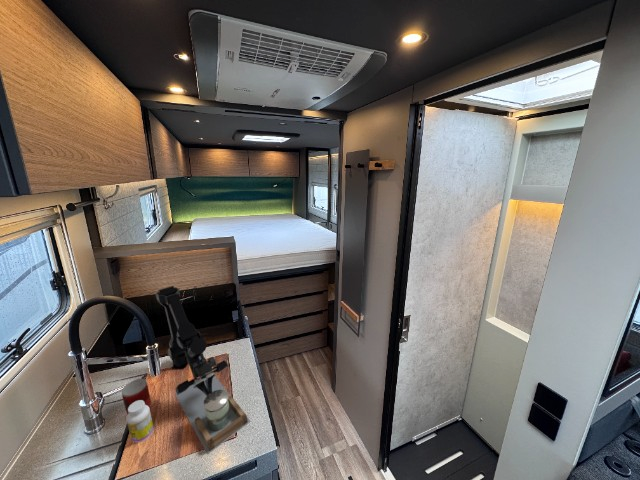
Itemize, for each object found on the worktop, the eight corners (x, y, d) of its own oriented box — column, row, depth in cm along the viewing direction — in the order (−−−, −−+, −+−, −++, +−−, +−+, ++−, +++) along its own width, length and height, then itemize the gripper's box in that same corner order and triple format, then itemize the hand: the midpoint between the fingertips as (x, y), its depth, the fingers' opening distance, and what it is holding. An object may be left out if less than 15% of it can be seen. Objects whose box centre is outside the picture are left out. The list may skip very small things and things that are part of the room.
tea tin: (203, 431, 90) (199, 409, 87) (212, 410, 98) (209, 389, 95) (225, 431, 90) (222, 409, 87) (233, 410, 98) (231, 389, 95)
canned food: (156, 401, 103) (151, 378, 100) (140, 419, 95) (135, 396, 92) (138, 399, 103) (133, 377, 100) (122, 417, 96) (115, 394, 93)
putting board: (174, 395, 105) (174, 394, 105) (212, 373, 116) (212, 373, 116) (207, 455, 83) (207, 454, 82) (250, 422, 94) (250, 421, 94)
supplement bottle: (129, 434, 89) (122, 406, 86) (151, 421, 94) (144, 394, 91) (134, 448, 85) (126, 418, 82) (156, 433, 90) (150, 405, 86)
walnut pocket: (195, 425, 92) (194, 419, 91) (231, 401, 102) (230, 395, 101) (209, 451, 84) (208, 444, 83) (247, 422, 93) (247, 415, 92)
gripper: (173, 367, 89) (188, 412, 85) (223, 343, 102) (239, 380, 98) (169, 374, 97) (183, 415, 92) (217, 350, 109) (231, 385, 105)
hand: (211, 398), depth 96 cm, fingers closed
